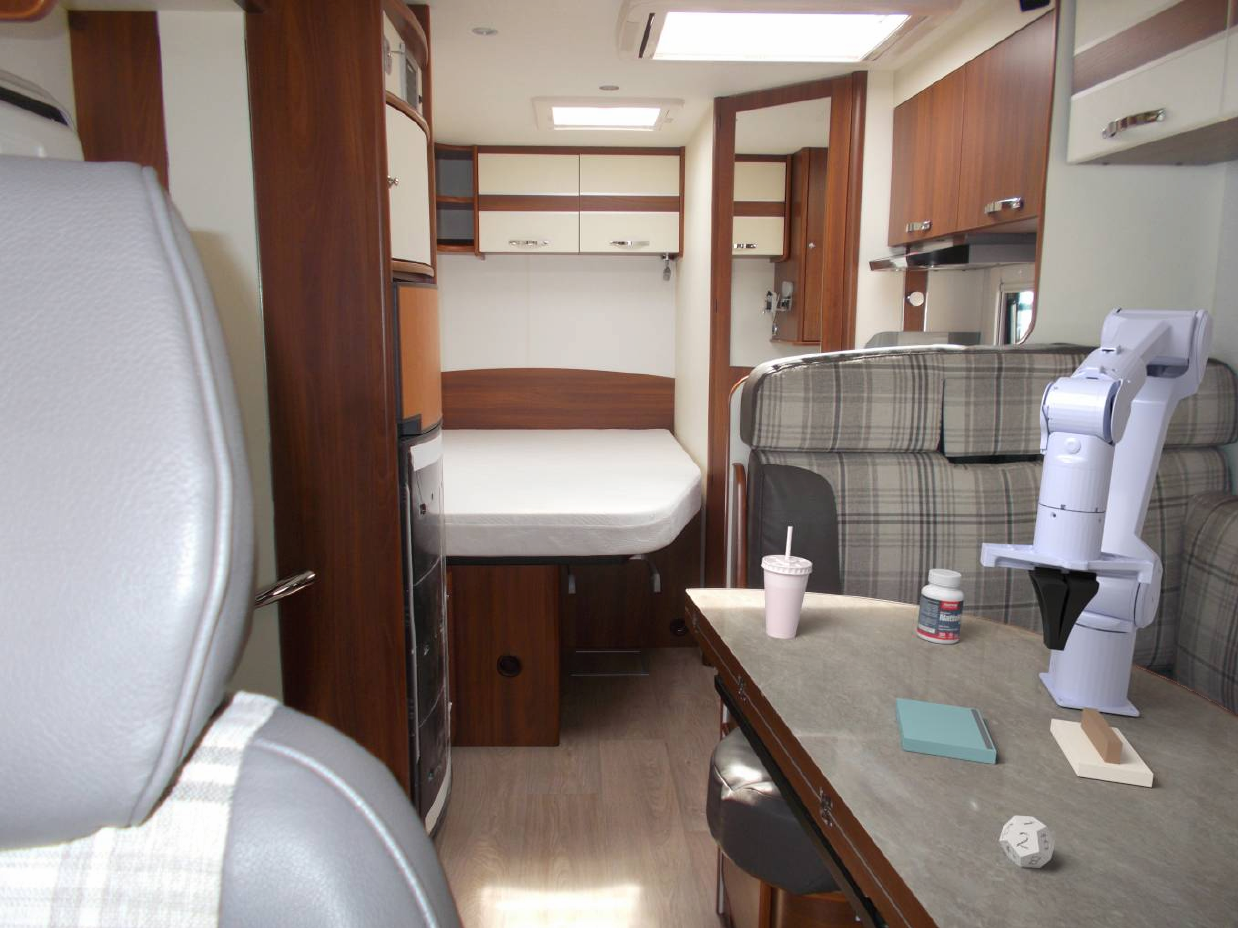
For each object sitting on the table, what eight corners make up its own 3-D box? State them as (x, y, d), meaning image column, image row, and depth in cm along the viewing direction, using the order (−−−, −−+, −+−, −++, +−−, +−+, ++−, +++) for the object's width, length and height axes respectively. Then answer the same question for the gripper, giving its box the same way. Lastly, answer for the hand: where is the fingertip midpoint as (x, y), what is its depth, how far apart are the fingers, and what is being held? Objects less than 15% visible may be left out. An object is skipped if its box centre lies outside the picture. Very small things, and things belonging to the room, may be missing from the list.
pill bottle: (938, 646, 113) (946, 578, 112) (907, 633, 118) (915, 568, 117) (967, 642, 116) (975, 576, 115) (936, 629, 120) (943, 566, 119)
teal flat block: (895, 708, 92) (896, 696, 92) (976, 720, 91) (978, 708, 90) (903, 750, 83) (904, 736, 82) (994, 764, 81) (996, 750, 81)
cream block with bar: (1050, 730, 89) (1054, 699, 89) (1115, 739, 88) (1120, 708, 87) (1077, 775, 79) (1082, 741, 79) (1151, 786, 78) (1156, 752, 78)
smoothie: (806, 629, 117) (816, 525, 115) (805, 645, 111) (815, 535, 109) (757, 623, 118) (766, 520, 116) (753, 638, 112) (762, 529, 110)
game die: (987, 850, 67) (991, 812, 66) (1027, 844, 68) (1032, 807, 67) (1021, 877, 63) (1026, 838, 63) (1062, 871, 64) (1068, 832, 64)
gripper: (997, 506, 81) (980, 650, 83) (1174, 522, 78) (1152, 671, 80) (983, 494, 88) (968, 627, 89) (1145, 508, 85) (1126, 646, 86)
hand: (1053, 646), depth 85 cm, fingers closed
